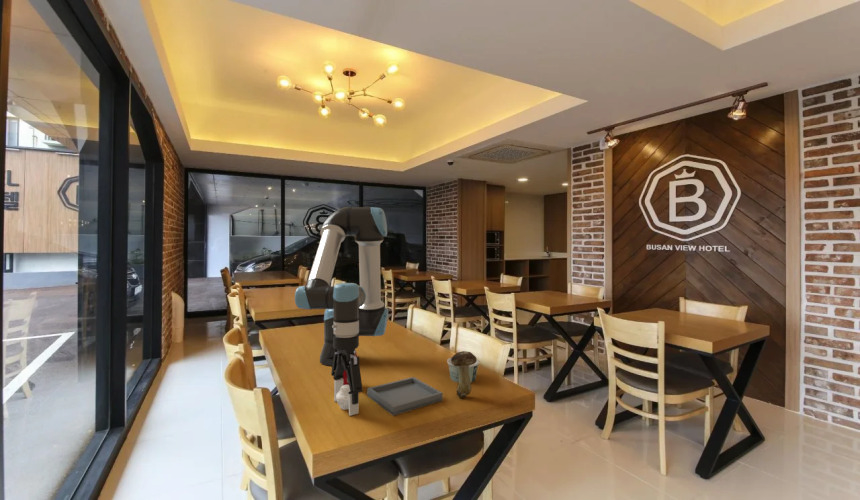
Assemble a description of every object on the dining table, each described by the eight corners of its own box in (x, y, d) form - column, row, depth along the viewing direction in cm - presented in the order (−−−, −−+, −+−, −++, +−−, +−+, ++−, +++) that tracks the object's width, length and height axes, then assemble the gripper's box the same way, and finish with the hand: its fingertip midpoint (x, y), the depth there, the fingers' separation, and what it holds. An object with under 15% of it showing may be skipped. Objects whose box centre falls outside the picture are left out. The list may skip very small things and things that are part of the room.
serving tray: (367, 395, 120) (367, 388, 120) (413, 383, 131) (413, 376, 131) (393, 415, 107) (393, 407, 107) (442, 400, 117) (442, 392, 117)
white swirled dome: (356, 411, 110) (356, 387, 109) (335, 413, 108) (335, 389, 108) (356, 402, 116) (356, 380, 115) (336, 404, 114) (336, 381, 114)
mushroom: (469, 406, 113) (469, 357, 113) (444, 399, 118) (445, 353, 117) (481, 395, 121) (482, 350, 121) (458, 389, 126) (458, 346, 125)
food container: (440, 378, 136) (440, 361, 136) (460, 370, 145) (460, 353, 145) (466, 387, 128) (466, 368, 128) (485, 378, 137) (485, 360, 137)
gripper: (320, 328, 119) (320, 396, 119) (350, 345, 100) (349, 425, 100) (343, 325, 123) (342, 391, 123) (374, 341, 104) (374, 418, 105)
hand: (345, 406), depth 112 cm, fingers open, 11 cm apart
